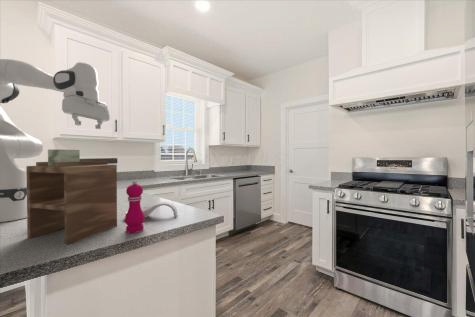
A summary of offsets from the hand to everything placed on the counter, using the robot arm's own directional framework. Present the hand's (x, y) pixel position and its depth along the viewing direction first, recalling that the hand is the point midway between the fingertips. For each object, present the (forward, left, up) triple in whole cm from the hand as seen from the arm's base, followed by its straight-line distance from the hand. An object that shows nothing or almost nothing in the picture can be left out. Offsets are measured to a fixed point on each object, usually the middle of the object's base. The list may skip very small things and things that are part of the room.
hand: (88, 127), depth 100 cm
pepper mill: (+31, -6, -43) cm, 53 cm away
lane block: (+10, -8, -17) cm, 21 cm away
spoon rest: (+25, +12, -43) cm, 51 cm away
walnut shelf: (+10, -14, -43) cm, 46 cm away
